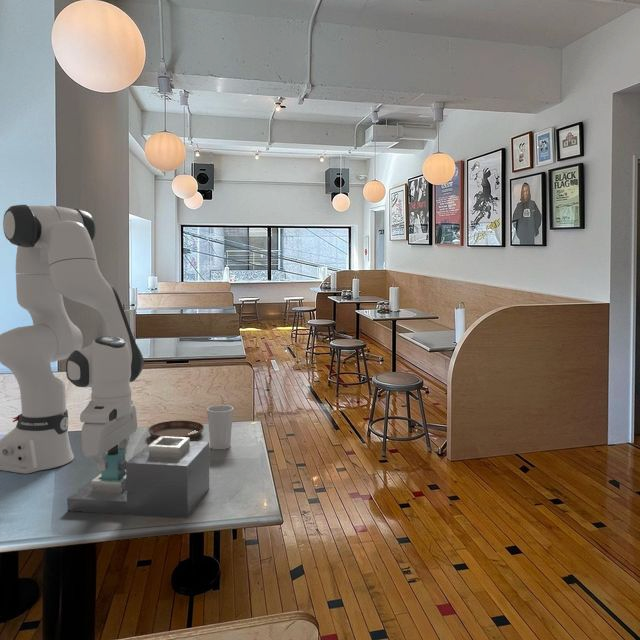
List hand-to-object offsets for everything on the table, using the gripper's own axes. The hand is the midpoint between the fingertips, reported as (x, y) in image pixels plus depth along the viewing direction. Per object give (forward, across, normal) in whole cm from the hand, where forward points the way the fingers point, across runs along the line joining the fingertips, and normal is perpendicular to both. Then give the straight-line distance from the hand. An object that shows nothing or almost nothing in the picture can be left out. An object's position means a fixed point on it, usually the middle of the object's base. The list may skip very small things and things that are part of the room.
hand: (112, 462), depth 127 cm
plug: (+6, 0, 0) cm, 6 cm away
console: (+9, 0, +7) cm, 11 cm away
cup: (+9, -39, +15) cm, 43 cm away
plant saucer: (+9, -47, -2) cm, 48 cm away
